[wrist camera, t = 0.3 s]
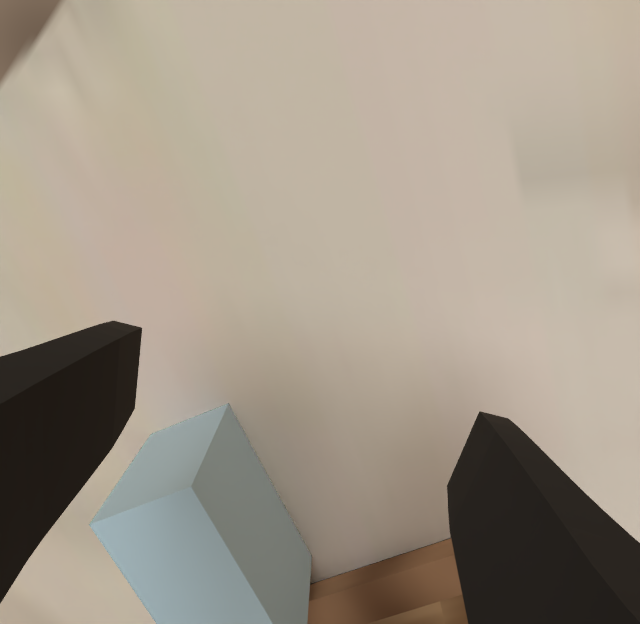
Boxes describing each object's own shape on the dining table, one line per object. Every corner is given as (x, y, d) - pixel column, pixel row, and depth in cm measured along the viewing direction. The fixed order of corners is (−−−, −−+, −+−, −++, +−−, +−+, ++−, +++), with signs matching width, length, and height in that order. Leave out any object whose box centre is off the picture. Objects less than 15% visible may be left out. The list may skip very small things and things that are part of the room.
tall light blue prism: (239, 579, 25) (210, 702, 19) (151, 433, 23) (89, 524, 17) (312, 554, 25) (303, 675, 19) (229, 402, 22) (191, 486, 17)
